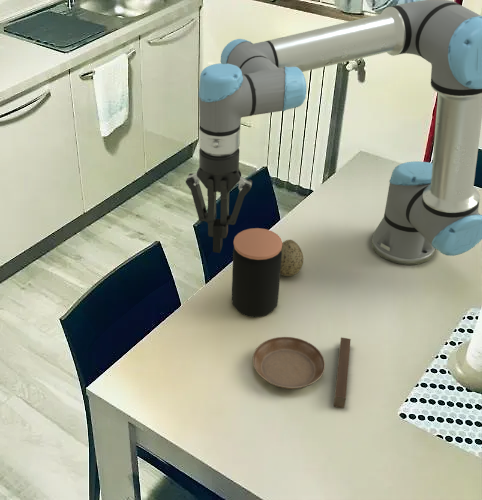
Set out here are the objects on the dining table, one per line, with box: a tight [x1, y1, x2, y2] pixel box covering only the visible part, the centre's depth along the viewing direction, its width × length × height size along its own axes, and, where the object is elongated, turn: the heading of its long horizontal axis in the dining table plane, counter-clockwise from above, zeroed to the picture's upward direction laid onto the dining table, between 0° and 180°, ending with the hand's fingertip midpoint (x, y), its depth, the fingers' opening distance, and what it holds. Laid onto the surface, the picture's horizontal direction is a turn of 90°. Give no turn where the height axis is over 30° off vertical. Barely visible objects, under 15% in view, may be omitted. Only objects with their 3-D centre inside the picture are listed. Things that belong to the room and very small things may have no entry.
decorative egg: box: [280, 239, 305, 277], centre depth 174 cm, size 7×7×10 cm
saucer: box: [252, 336, 326, 390], centre depth 151 cm, size 15×15×3 cm
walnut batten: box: [333, 336, 352, 409], centre depth 148 cm, size 2×17×3 cm, turn 164°
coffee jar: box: [231, 227, 283, 318], centre depth 163 cm, size 11×11×18 cm
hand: (217, 248), depth 149 cm, fingers closed
